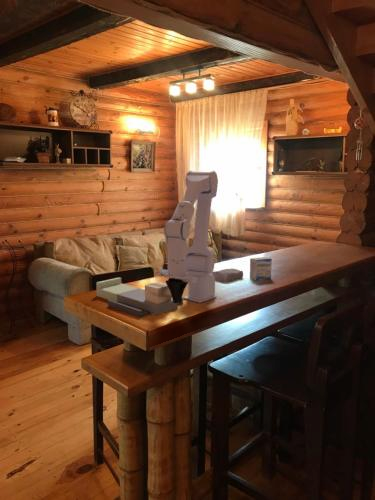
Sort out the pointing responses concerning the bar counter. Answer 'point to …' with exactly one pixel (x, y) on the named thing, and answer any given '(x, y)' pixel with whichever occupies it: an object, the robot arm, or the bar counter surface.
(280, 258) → the bar counter surface
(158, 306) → the trap causeway
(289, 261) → the bar counter surface
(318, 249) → the bar counter surface
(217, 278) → the stone block
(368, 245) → the bar counter surface
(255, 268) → the medicine box
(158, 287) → the ash block
